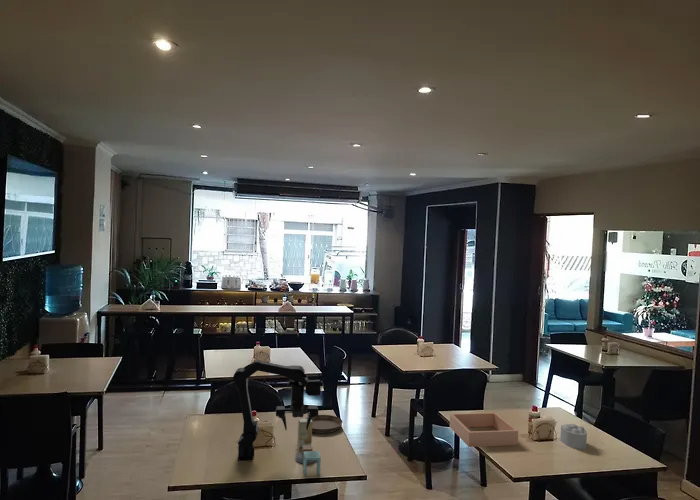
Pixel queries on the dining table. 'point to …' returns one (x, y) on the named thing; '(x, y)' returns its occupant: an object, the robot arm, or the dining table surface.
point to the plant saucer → (325, 423)
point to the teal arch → (311, 456)
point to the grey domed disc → (300, 459)
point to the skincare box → (304, 433)
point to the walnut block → (306, 449)
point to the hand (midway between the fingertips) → (296, 429)
